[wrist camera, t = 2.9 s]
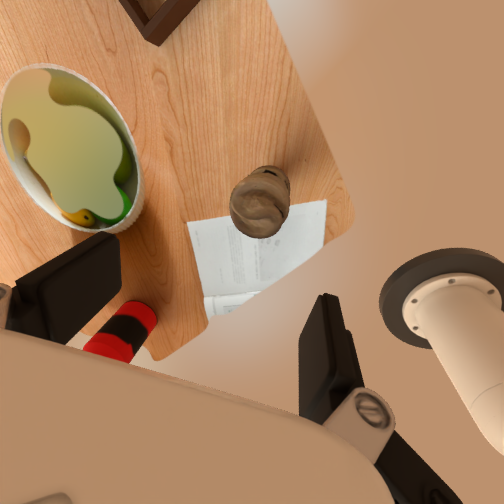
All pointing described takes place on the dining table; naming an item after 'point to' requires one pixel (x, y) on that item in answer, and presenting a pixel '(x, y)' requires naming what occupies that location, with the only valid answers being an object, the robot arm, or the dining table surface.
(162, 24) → the socket block
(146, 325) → the soda can
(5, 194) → the dining table surface
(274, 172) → the light bulb
